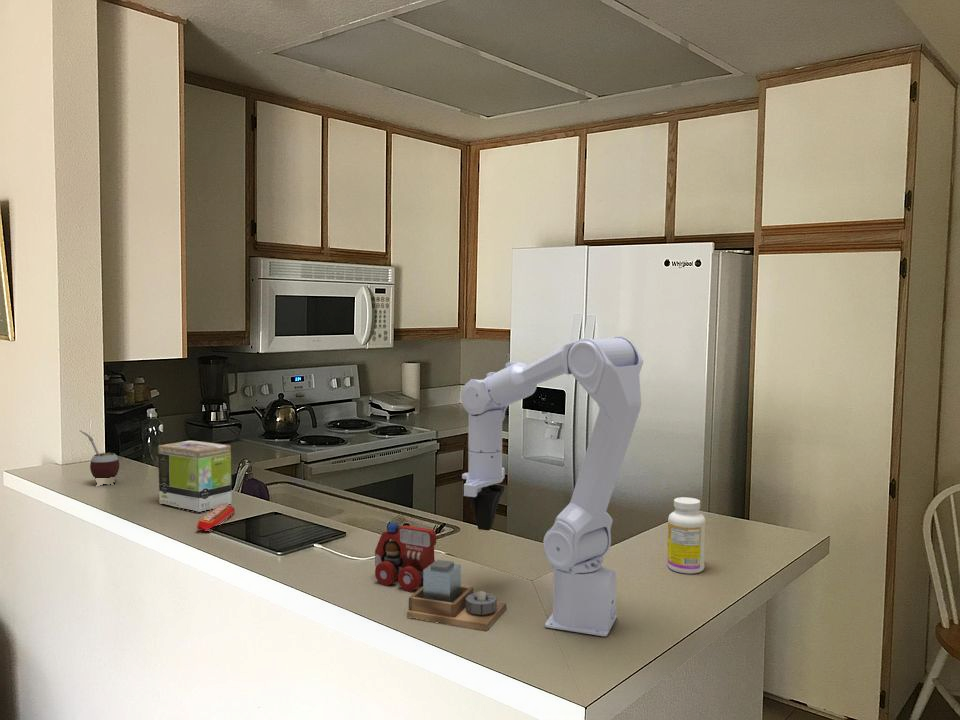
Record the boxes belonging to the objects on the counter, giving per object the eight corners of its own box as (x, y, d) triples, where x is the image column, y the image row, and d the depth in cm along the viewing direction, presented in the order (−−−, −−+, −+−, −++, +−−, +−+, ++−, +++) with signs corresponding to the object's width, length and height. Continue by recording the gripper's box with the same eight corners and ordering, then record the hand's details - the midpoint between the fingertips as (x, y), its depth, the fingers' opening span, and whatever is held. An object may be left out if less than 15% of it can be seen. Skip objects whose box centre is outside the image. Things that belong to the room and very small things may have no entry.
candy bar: (211, 535, 164) (211, 521, 164) (194, 535, 164) (194, 521, 164) (237, 514, 180) (237, 501, 180) (221, 514, 180) (221, 501, 180)
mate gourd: (125, 482, 210) (124, 427, 209) (102, 488, 202) (100, 431, 201) (104, 480, 212) (103, 425, 211) (80, 486, 205) (78, 430, 204)
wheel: (500, 605, 122) (500, 595, 122) (489, 616, 118) (490, 605, 118) (472, 601, 124) (472, 591, 124) (461, 611, 119) (461, 601, 119)
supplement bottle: (679, 560, 148) (681, 493, 147) (711, 568, 143) (712, 500, 142) (660, 568, 143) (661, 500, 142) (692, 577, 139) (694, 506, 138)
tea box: (233, 505, 187) (232, 444, 186) (198, 514, 179) (196, 450, 178) (193, 496, 195) (191, 438, 194) (157, 505, 187) (156, 444, 186)
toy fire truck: (390, 570, 142) (390, 514, 141) (446, 583, 136) (446, 524, 135) (365, 581, 136) (365, 523, 136) (422, 595, 130) (422, 534, 129)
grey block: (460, 601, 125) (460, 560, 124) (449, 611, 121) (449, 569, 120) (435, 597, 126) (434, 557, 126) (423, 607, 122) (423, 566, 122)
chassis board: (506, 608, 124) (506, 585, 124) (486, 630, 116) (486, 605, 116) (430, 597, 129) (431, 574, 129) (406, 617, 120) (406, 593, 120)
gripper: (478, 441, 139) (478, 515, 140) (446, 456, 126) (446, 538, 127) (515, 443, 137) (515, 519, 138) (487, 459, 123) (487, 543, 124)
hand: (484, 528), depth 132 cm, fingers closed
